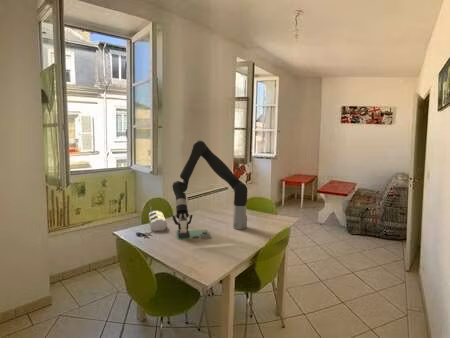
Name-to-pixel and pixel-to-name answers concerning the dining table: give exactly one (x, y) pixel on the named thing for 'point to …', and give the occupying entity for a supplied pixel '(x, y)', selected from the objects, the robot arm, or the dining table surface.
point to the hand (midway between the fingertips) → (183, 229)
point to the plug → (183, 225)
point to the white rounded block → (157, 221)
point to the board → (192, 234)
